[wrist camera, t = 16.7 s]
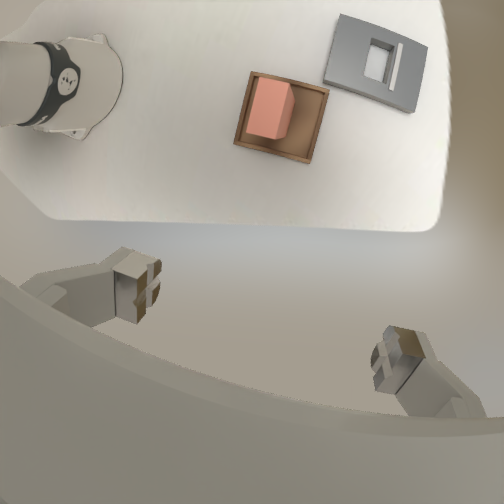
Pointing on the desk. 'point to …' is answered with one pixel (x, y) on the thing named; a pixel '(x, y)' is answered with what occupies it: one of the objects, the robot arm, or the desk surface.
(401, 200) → the desk surface
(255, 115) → the pink rectangular bar
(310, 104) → the tray
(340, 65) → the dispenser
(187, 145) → the desk surface
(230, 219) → the desk surface
